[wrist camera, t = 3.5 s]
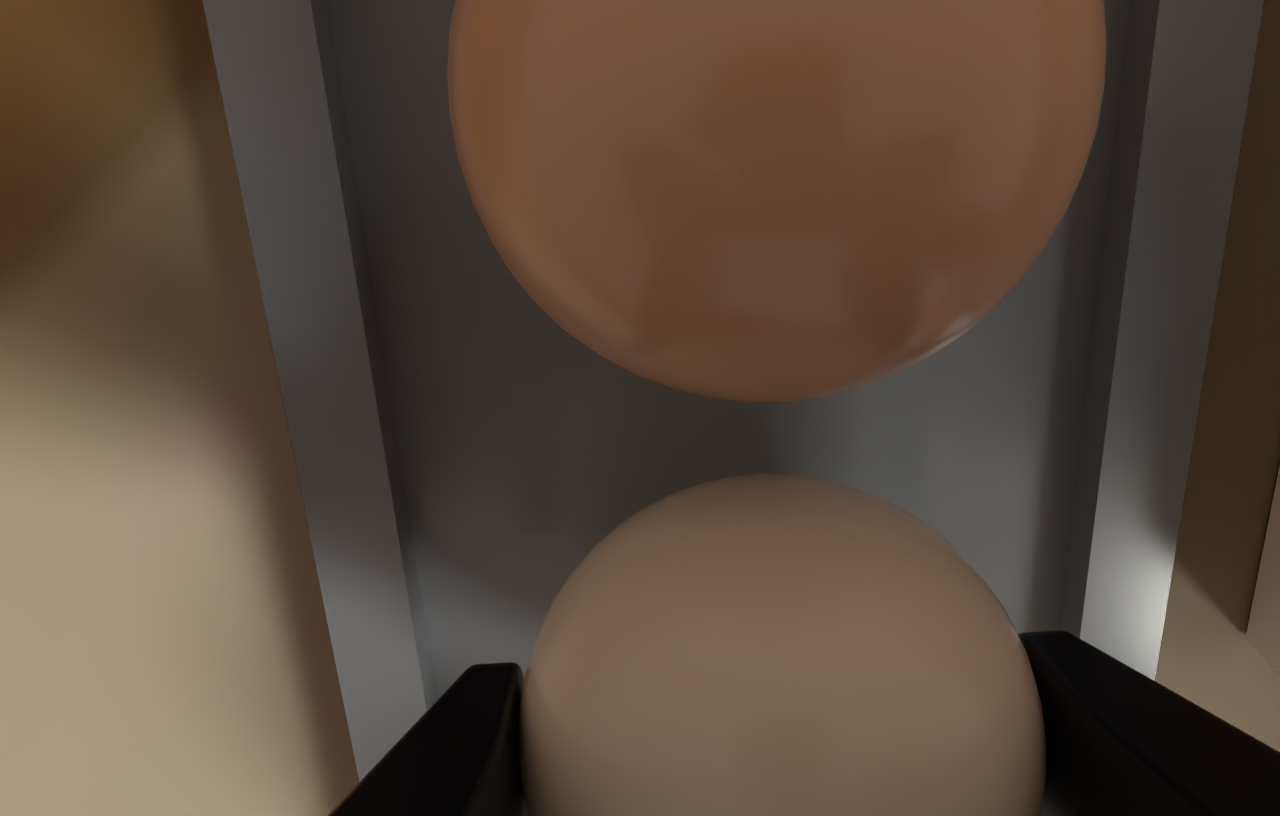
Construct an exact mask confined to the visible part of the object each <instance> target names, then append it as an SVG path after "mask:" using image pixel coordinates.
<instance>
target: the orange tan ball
mask: <svg viewBox="0 0 1280 816" xmlns="http://www.w3.org/2000/svg"><path fill="white" fill-rule="evenodd" d="M1106 45H1107V38H1106V26H1105V14H1104V1H1103V0H455V2H454V7H453V12H452V17H451V22H450V32H449V46H448V61H447V82H448V99H449V115H450V120H451V126H452V131H453V137H454V142H455V147H456V153H457V157H458V161H459V164H460V167H461V170H462V173H463V176H464V179H465V182H466V186H467V189H468V192H469V195H470V198H471V200H472V203H473V205H474V207H475V209H476V211H477V213H478V215H479V218H480V220H481V222H482V224H483V226H484V228H485V230H486V233H487V235H488V237H489V239H490V241H491V242H492V244H493V246H494V247H495V249H496V250H497V252H498V254H499V255H500V257H501V258H502V260H503V261H504V263H505V265H506V266H507V268H508V269H509V271H510V273H511V274H512V275H513V277H514V278H515V279H516V280H517V281H518V283H519V284H520V285H521V286H522V287H523V289H524V290H525V291H526V292H527V294H528V295H529V296H530V297H531V298H532V300H533V301H534V302H535V303H536V304H537V305H538V306H539V307H540V308H541V309H542V310H543V311H544V312H545V313H546V314H547V315H548V316H549V317H550V318H551V319H552V320H554V321H555V322H556V323H557V324H558V325H559V326H560V327H561V328H562V329H563V330H564V331H565V332H567V333H568V334H569V335H571V336H572V337H573V338H575V339H576V340H578V341H579V342H580V343H582V344H583V345H585V346H586V347H587V348H589V349H590V350H591V351H593V352H594V353H596V354H597V355H599V356H601V357H603V358H604V359H606V360H608V361H610V362H612V363H614V364H615V365H617V366H619V367H621V368H623V369H625V370H626V371H628V372H630V373H632V374H635V375H637V376H640V377H643V378H645V379H648V380H650V381H653V382H655V383H658V384H660V385H663V386H666V387H668V388H671V389H674V390H678V391H682V392H686V393H690V394H694V395H698V396H702V397H706V398H711V399H719V400H727V401H735V402H743V403H786V402H794V401H803V400H811V399H819V398H824V397H828V396H832V395H837V394H841V393H845V392H849V391H853V390H857V389H860V388H863V387H865V386H868V385H871V384H874V383H876V382H879V381H882V380H884V379H887V378H890V377H892V376H895V375H897V374H899V373H901V372H903V371H905V370H907V369H909V368H911V367H912V366H914V365H916V364H918V363H920V362H922V361H924V360H926V359H928V358H930V357H931V356H933V355H934V354H936V353H937V352H939V351H940V350H942V349H943V348H945V347H946V346H948V345H949V344H951V343H952V342H954V341H955V340H957V339H958V338H960V337H961V336H963V335H964V334H965V333H966V332H968V331H969V330H970V329H971V328H972V327H973V326H975V325H976V324H977V323H978V322H979V321H981V320H982V319H983V318H984V317H985V316H987V315H988V314H989V313H990V312H991V311H992V310H994V308H995V307H996V306H997V305H998V304H999V303H1000V302H1001V301H1002V300H1003V299H1004V298H1005V297H1006V296H1007V295H1008V294H1009V293H1010V291H1011V290H1012V289H1013V288H1014V287H1015V286H1016V285H1017V284H1018V283H1019V282H1020V281H1021V280H1022V278H1023V277H1024V276H1025V274H1026V273H1027V272H1028V270H1029V269H1030V268H1031V266H1032V265H1033V264H1034V262H1035V261H1036V260H1037V258H1038V257H1039V256H1040V254H1041V253H1042V252H1043V250H1044V249H1045V248H1046V246H1047V244H1048V243H1049V241H1050V239H1051V238H1052V236H1053V234H1054V232H1055V231H1056V229H1057V227H1058V225H1059V224H1060V222H1061V220H1062V219H1063V217H1064V215H1065V213H1066V212H1067V210H1068V208H1069V205H1070V203H1071V201H1072V198H1073V196H1074V194H1075V192H1076V189H1077V187H1078V185H1079V182H1080V180H1081V178H1082V175H1083V173H1084V171H1085V168H1086V164H1087V161H1088V158H1089V154H1090V151H1091V148H1092V144H1093V141H1094V138H1095V134H1096V131H1097V127H1098V121H1099V115H1100V109H1101V104H1102V98H1103V92H1104V86H1105V67H1106Z"/></svg>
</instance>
